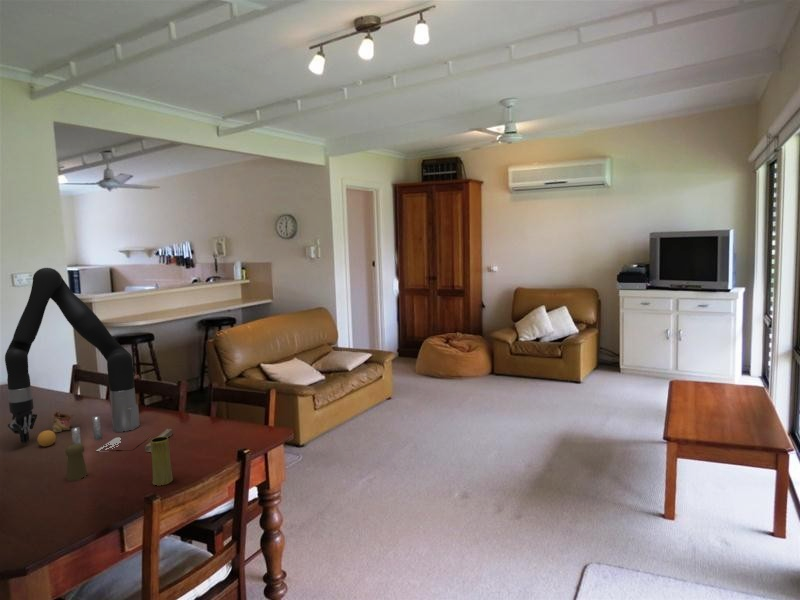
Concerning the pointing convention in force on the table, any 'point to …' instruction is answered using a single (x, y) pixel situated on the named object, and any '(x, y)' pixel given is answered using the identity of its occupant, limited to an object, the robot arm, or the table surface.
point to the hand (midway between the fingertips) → (25, 442)
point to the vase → (161, 461)
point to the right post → (97, 427)
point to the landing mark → (112, 443)
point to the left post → (76, 435)
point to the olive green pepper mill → (75, 462)
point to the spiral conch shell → (60, 421)
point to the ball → (46, 438)
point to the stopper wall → (165, 433)
